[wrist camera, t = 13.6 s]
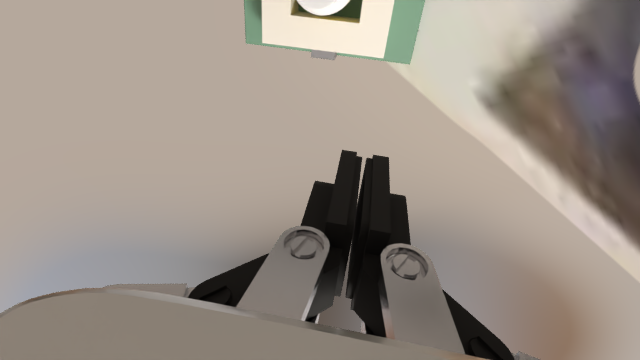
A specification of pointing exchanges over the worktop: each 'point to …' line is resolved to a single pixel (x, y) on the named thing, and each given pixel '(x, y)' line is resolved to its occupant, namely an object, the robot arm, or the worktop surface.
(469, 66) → the worktop surface
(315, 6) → the supplement bottle
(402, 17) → the board
